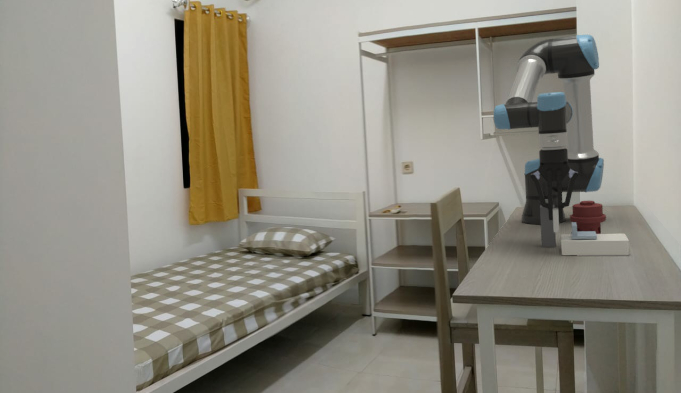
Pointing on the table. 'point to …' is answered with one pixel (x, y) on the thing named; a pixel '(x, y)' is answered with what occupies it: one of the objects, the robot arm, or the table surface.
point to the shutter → (582, 233)
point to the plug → (547, 228)
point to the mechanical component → (588, 216)
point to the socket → (595, 245)
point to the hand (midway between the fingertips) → (556, 231)
